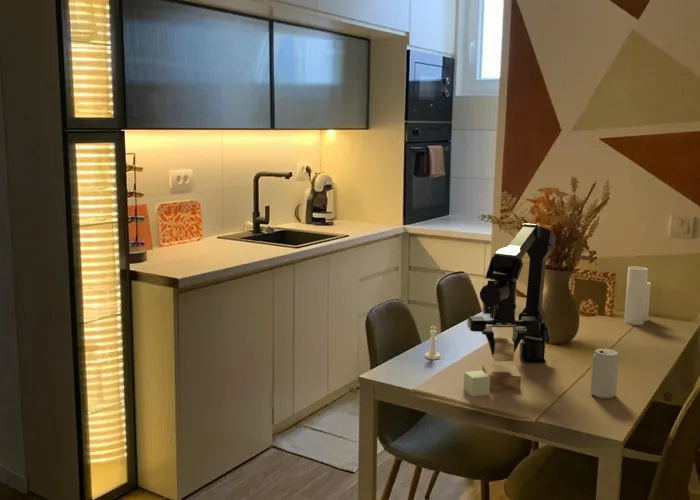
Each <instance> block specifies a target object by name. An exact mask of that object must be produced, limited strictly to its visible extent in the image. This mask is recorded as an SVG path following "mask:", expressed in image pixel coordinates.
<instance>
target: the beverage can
mask: <svg viewBox="0 0 700 500" xmlns="http://www.w3.org/2000/svg"><path fill="white" fill-rule="evenodd" d="M619 363H620V356H619V352H618V351H617V350H615V349H611V348H610V349H609V348H596V349H595V350H594V354H593V355H592V365H591V366H592V367H591V377H590V379H591V381H590V393H591V394H592V395H593V396H594V397H596V398H598V399H606V400H607V399H612V398H614V397H615V396H616V395H617V390H618V389H617V388H618V379H619V378H618V376H619Z"/></svg>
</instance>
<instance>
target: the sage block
mask: <svg viewBox="0 0 700 500" xmlns="http://www.w3.org/2000/svg"><path fill="white" fill-rule="evenodd" d="M463 375H464V376H463V378H464V379H463V390H464V391H465V392H466V393H467V394H468V395H469V396H471V397H478V396H479V397H480V396H489V395H490V389H491V388H490V376H489V375H487V374H486V373H484V372H483V369H481V370H473V371H464V374H463Z"/></svg>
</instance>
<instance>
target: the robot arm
mask: <svg viewBox="0 0 700 500" xmlns="http://www.w3.org/2000/svg"><path fill="white" fill-rule="evenodd" d="M556 238H557V237H556V235H555V233H554V232H553V231H552V230H551V229H547V228H545V227H543V226H542V225H540V224H539V223H522V224H521V226H520V230H519V231H518V232H517V234H516V235H515V236H514V237H513V239H512V240H511V241H510V243H509V244H508V246H505V247H501V248H499V249H498V250H496V252H495V253H493V255H492V257H491V259H490V262H489V265H488V268H487V272H486V275H485V279H487V283H486V285H484V286H482V288H481V289H480V292H479V298H480V301H481V302H482V304H483V305H482V311H483V313H482V314H483V315H489V318H490V319H485V318H484V317H483V316H478V315H477V316H475V315H474V316H473V315H472V316H469V317H468V318H467V327H468V328H469V330H470V332H473V333H474V332H480V333H481V335H485V337H486V340H487V343H488V347H489V350H490V355H491V354H492V355H494V338H495V332H494V331H493V328H512V339H511V340H512V341H513V342H514V353H515V352H516V350H517V348H518V347H519V357H520V359H521V360H522V361H523V362H524V363H546V362H547V360H546V359H545V351H546V350H545V349H546V343H547V344H549V343H550V342H551V333H552V332H551V330H550V329H549V325H548V324H547V322H548V319H547V315H546V313H545V311H544V309H543V298H544V289H545V288H544V287H545V277H546V265H547V259H548V258H549V256H550V255H551V254H552V252H553V251H554V246H555V244H556ZM525 255H527V256H528V258H529V264H528V274H527V275H528V277H527V287H526V297H525V298H526V299H525V307H524V308H523V310H522V311H521V312H520V313H519V314H518V319H515V318H516V309H517V305H516V300H517V299H516V298H517V281H518V280H519V277H520V274H521V272H522V269H523V266H524V262H523V258H524V256H525Z"/></svg>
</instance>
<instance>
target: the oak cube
mask: <svg viewBox="0 0 700 500" xmlns="http://www.w3.org/2000/svg"><path fill="white" fill-rule="evenodd" d="M490 355H491V358H492V359H493V360H494V362H514V360H515V359H514V355H515V352H514V342H513V341H512V339H511V337H494V355H492V354H491V353H490Z"/></svg>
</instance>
